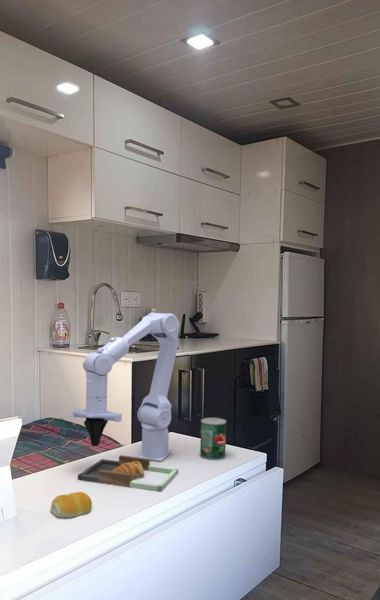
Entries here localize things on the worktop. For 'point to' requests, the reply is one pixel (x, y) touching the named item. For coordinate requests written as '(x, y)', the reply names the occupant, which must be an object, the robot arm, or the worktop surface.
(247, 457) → the worktop surface
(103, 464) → the tray
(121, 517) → the worktop surface
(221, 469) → the worktop surface
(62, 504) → the bread roll
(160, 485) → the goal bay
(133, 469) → the pastry
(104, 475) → the corridor
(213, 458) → the canned tomato
